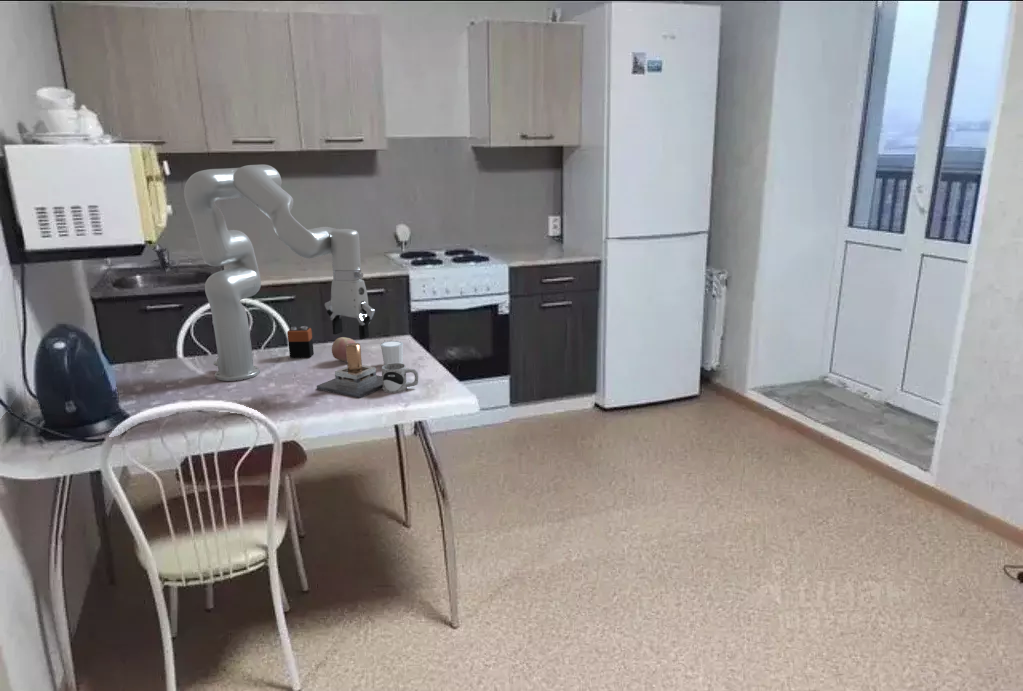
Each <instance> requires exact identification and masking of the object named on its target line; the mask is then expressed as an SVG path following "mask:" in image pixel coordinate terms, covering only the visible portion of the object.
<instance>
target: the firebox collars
mask: <svg viewBox="0 0 1023 691" xmlns="http://www.w3.org/2000/svg"><path fill="white" fill-rule="evenodd" d="M362 377H363V379H361V380H360V378H362ZM349 378H351V379H354V381H353V380H349ZM319 389H320V390H319ZM382 389H383V383H382V375H377V367H374V366H370V365H364V364H362V371H361V372H359V373H357V374H355V373H350V372H348V367H347V366H346V367H343V368H340V369H337V370H335V371H334V378H332V379H330V380H327V381H325V382H322V383H320V384H318V385H316V390H319V391H325V392H328V391H329V393H333V392H334V393H335V394H338V393H339V394H340V395H344V396H348V397H354V398H358V399H361V398H364V397H365V396H368V395H370V394H373V393H374V392H377V391H380V390H382ZM334 393H333V394H334ZM339 394H338V395H339Z"/></svg>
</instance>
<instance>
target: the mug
mask: <svg viewBox="0 0 1023 691" xmlns="http://www.w3.org/2000/svg"><path fill="white" fill-rule="evenodd" d="M407 373H412V374H413V376H414V381H412V382H411V381H410V382H409V381H407ZM381 376H382V383H383V388H382V391H383V392H384V393H388V394H397V393H399V394H400V393H403V392H405V391H407V390H408V388H410V387H415V386H417V385H418V383H419V373H418V370H417V369H414V368H410V367H409V368H408V367H406V364H405V363H403V364H402V363H390V364H385V365H384V364H383V365H381Z"/></svg>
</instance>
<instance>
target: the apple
mask: <svg viewBox="0 0 1023 691" xmlns="http://www.w3.org/2000/svg"><path fill="white" fill-rule="evenodd" d="M350 343H357V342H356V341H355V340H354V339H353V338H350V337H345V336H342V337H338V338H336V339H335V340H334V341H333V343H332V346H331V355H332V357H333V358H334V359H335V360H337V361H341V362H345V361H347V356H346V345H347V344H350Z"/></svg>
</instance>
